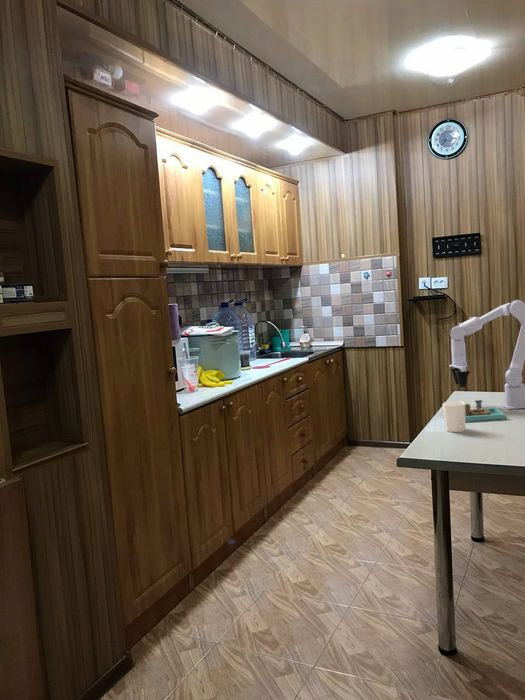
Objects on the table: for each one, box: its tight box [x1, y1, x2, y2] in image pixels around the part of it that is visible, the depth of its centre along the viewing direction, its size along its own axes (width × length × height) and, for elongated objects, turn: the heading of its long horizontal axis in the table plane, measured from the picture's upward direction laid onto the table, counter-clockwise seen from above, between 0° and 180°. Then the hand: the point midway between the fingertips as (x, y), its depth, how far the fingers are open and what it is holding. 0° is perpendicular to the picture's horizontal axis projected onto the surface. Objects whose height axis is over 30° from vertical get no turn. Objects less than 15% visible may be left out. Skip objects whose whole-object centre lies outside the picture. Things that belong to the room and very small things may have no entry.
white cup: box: [442, 400, 466, 433], centre depth 202 cm, size 8×8×10 cm
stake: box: [474, 399, 483, 409], centre depth 228 cm, size 3×2×4 cm
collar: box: [465, 403, 491, 416], centre depth 217 cm, size 10×7×5 cm
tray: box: [465, 407, 506, 423], centre depth 217 cm, size 16×12×2 cm
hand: (460, 385), depth 236 cm, fingers open, 7 cm apart
